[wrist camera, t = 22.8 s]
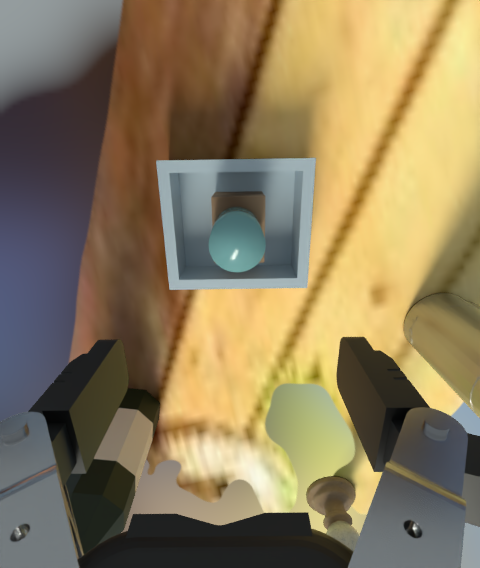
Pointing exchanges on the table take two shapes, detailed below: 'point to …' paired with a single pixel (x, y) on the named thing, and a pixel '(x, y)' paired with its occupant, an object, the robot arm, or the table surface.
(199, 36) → the table surface
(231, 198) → the walnut block
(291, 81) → the table surface
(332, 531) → the candle holder
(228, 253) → the teal glossy cylinder
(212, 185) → the blue-grey tote
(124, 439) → the wine bottle
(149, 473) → the table surface
